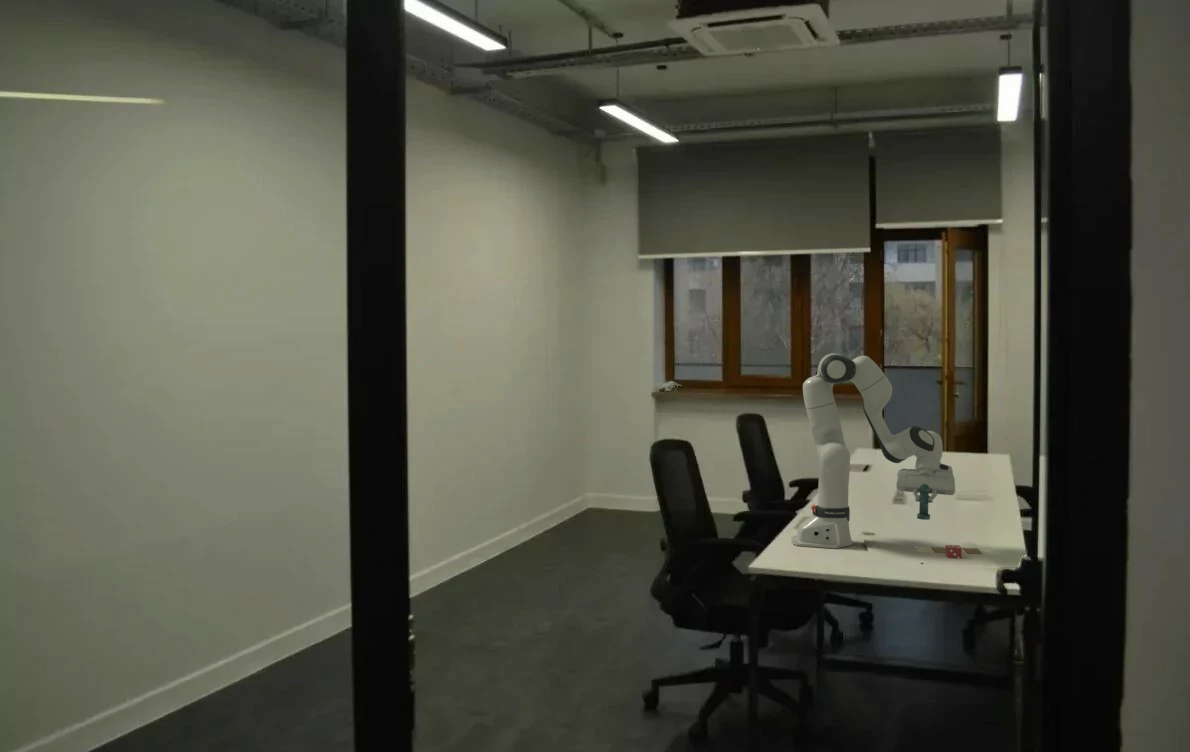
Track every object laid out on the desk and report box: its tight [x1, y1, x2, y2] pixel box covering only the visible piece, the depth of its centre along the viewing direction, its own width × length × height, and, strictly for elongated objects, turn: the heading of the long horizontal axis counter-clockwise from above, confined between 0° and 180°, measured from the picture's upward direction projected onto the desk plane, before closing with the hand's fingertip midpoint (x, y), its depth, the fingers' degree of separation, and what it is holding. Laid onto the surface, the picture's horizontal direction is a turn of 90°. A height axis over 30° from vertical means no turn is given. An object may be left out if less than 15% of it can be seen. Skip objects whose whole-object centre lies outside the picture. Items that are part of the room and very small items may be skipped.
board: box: [914, 545, 984, 555], centre depth 345 cm, size 23×10×1 cm, turn 80°
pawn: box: [916, 484, 931, 521], centre depth 345 cm, size 4×4×12 cm
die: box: [945, 544, 963, 559], centre depth 335 cm, size 4×5×5 cm
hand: (923, 501), depth 345 cm, fingers closed on pawn, 3 cm apart
